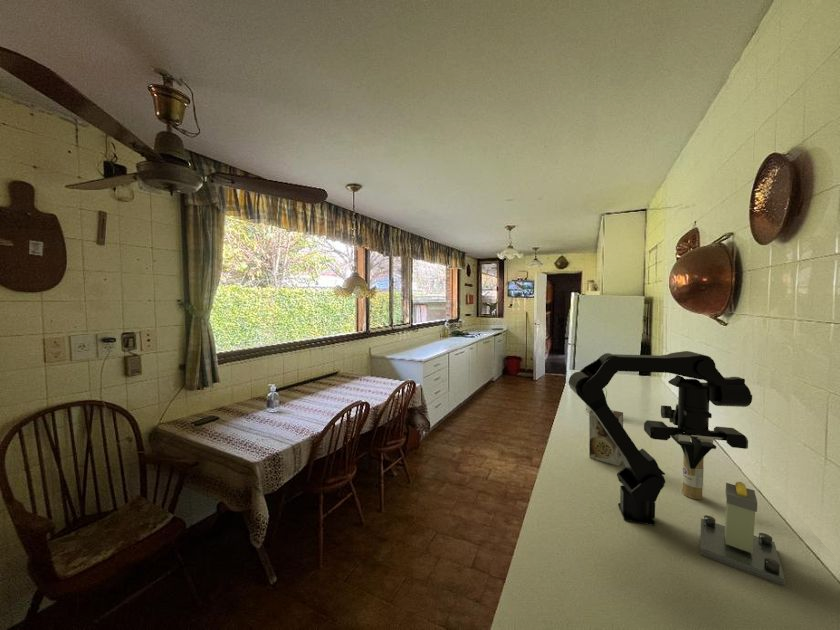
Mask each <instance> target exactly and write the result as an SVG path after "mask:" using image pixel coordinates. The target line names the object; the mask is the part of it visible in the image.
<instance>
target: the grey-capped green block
mask: <svg viewBox="0 0 840 630" xmlns="http://www.w3.org/2000/svg"><path fill="white" fill-rule="evenodd" d="M746 486H747V485H746V484H745V483H744V482H742V481H736V482H735V484H733V483H728V482H726V483H725V497H726V500H725V503H726V504H725V519H724V520H725V521H724V526H725V541H726V544H727V545H730V546H733V547H736V548H738V549H741V550H744V551H747V552H749V553H752V554H753V539H754V536H755V524H756V523H755V521H756V513H758V498H757V495H756V491H755V490H754V489H751V488H747V487H746Z"/></svg>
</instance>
